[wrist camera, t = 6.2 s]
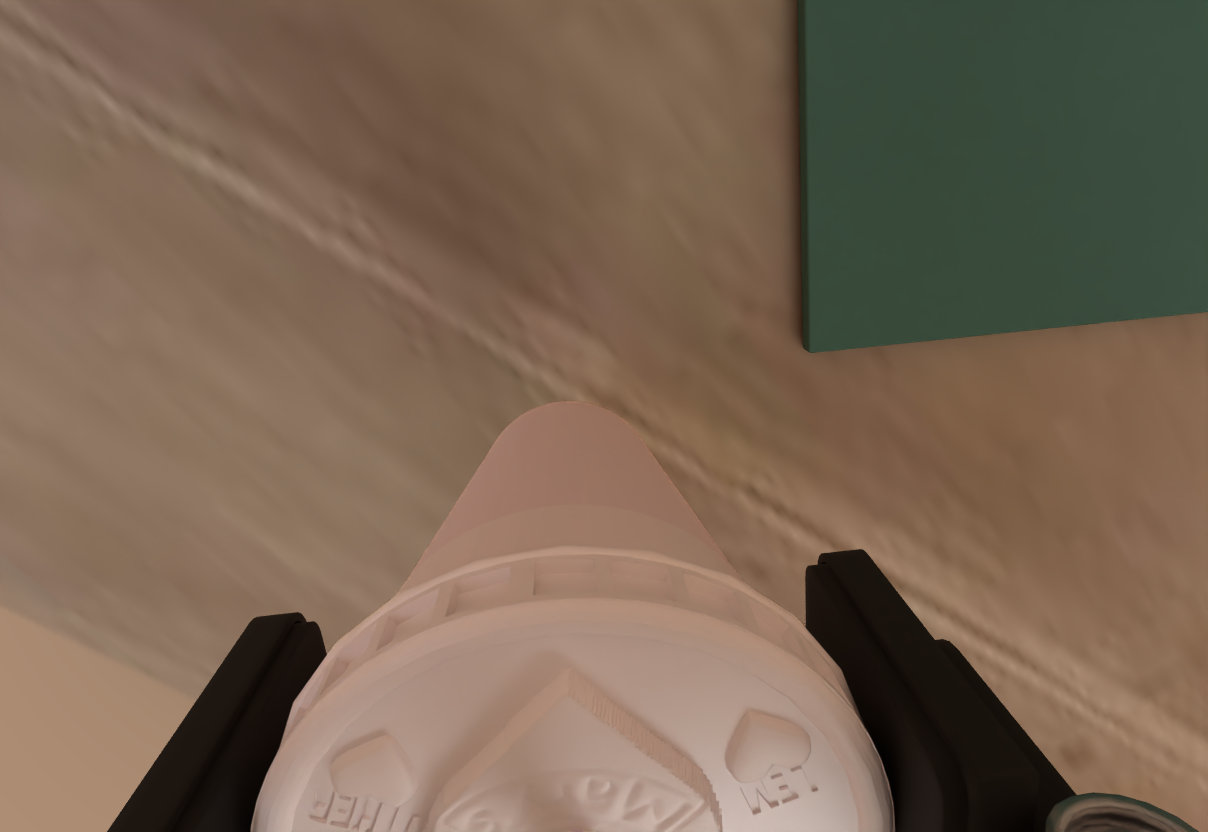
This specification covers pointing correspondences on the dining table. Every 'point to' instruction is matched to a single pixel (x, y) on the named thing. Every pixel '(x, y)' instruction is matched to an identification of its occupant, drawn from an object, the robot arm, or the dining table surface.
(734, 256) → the dining table surface
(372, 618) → the smoothie
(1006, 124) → the mat
